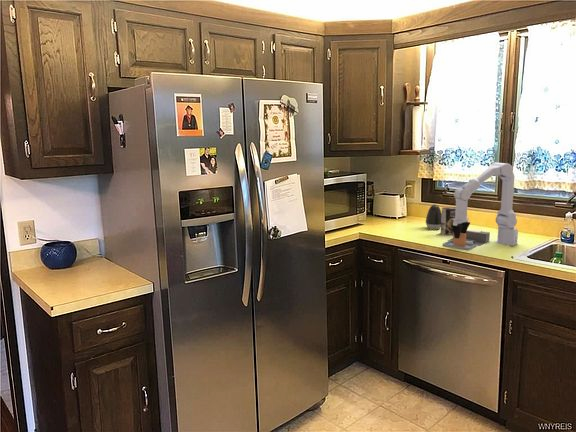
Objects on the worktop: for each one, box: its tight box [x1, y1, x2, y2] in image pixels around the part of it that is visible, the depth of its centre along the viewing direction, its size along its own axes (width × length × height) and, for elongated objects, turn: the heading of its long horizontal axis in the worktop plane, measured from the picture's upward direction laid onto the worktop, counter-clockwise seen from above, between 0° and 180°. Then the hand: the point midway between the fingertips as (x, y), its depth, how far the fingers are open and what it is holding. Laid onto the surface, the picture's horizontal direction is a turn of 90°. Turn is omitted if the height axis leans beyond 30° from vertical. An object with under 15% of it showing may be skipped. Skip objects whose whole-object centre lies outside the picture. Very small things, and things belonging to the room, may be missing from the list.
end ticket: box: [452, 233, 466, 247], centre depth 243 cm, size 6×2×7 cm, turn 47°
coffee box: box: [440, 206, 456, 236], centre depth 270 cm, size 9×6×16 cm
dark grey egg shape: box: [425, 204, 442, 230], centre depth 287 cm, size 10×10×15 cm
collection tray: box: [442, 239, 478, 251], centre depth 243 cm, size 14×10×2 cm
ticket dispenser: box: [447, 228, 491, 247], centre depth 253 cm, size 18×13×6 cm
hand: (460, 236), depth 243 cm, fingers open, 7 cm apart
